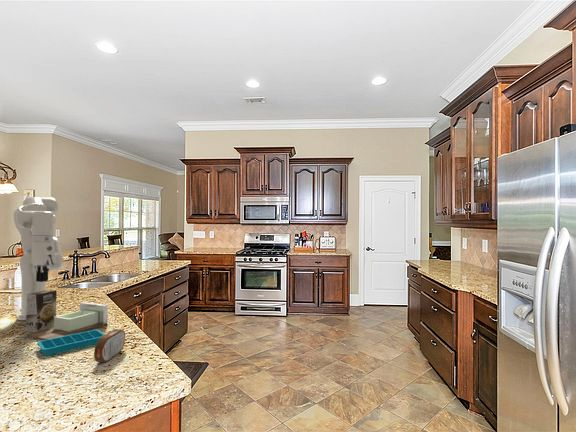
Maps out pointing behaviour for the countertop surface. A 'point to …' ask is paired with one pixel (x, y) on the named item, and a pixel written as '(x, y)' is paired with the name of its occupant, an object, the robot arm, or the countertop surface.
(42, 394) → the countertop surface
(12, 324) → the countertop surface
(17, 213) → the robot arm
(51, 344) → the ice cube tray
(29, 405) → the countertop surface
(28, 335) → the brown flat board
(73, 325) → the pale green open box
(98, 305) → the stop wall
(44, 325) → the coffee box
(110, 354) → the tin
